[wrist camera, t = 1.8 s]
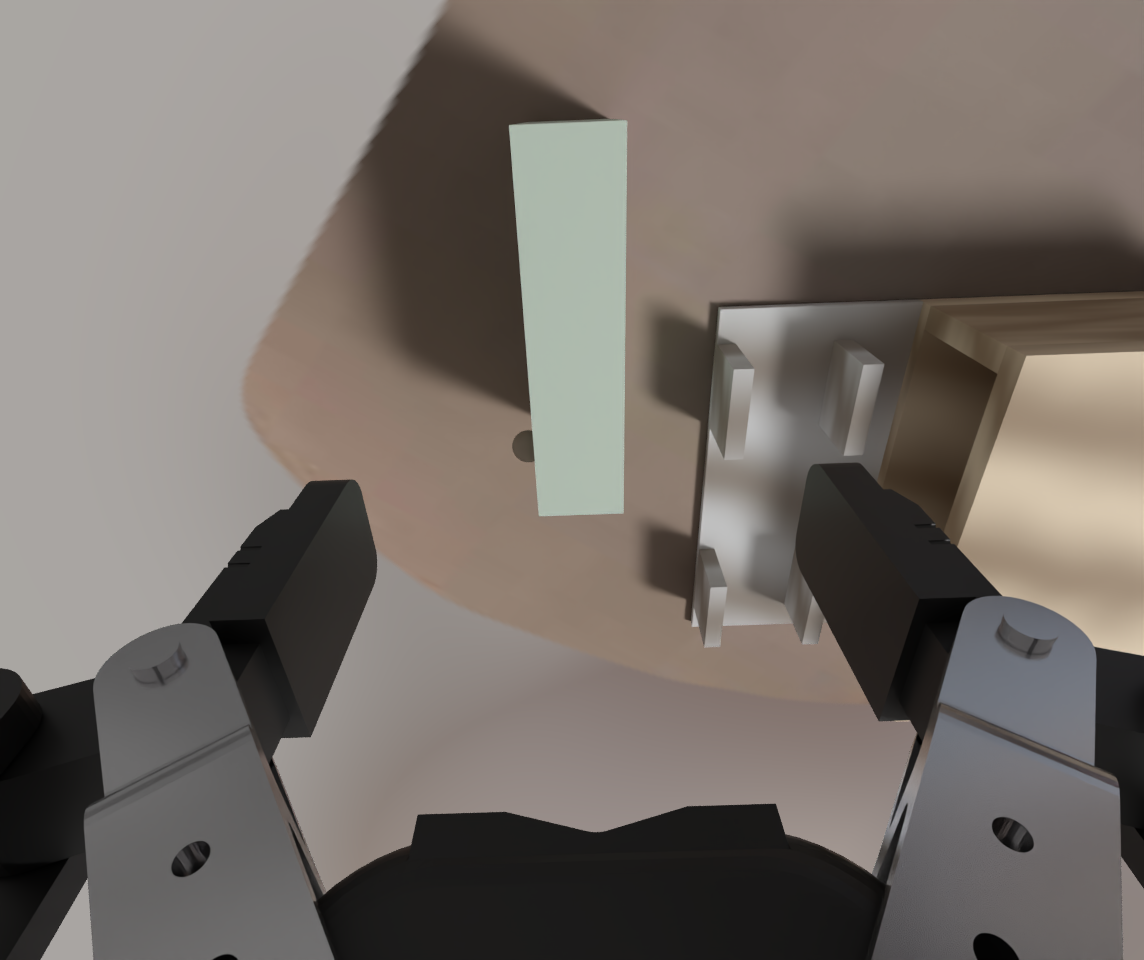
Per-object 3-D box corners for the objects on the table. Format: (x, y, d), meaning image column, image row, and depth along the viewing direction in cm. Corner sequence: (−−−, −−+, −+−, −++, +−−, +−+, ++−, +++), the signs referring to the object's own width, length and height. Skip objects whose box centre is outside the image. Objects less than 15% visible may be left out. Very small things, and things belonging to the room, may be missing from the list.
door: (499, 123, 22) (469, 126, 15) (608, 118, 22) (627, 120, 15) (524, 420, 28) (510, 517, 22) (609, 417, 28) (623, 513, 22)
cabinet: (718, 307, 26) (764, 365, 20) (1207, 288, 25) (1405, 341, 19) (691, 621, 35) (716, 726, 29) (1049, 610, 35) (1150, 713, 29)
